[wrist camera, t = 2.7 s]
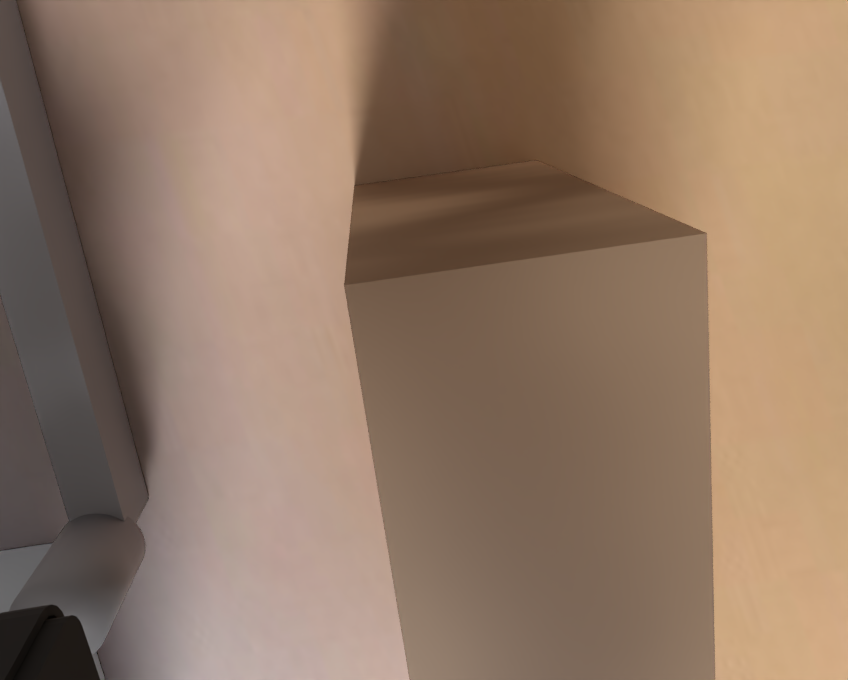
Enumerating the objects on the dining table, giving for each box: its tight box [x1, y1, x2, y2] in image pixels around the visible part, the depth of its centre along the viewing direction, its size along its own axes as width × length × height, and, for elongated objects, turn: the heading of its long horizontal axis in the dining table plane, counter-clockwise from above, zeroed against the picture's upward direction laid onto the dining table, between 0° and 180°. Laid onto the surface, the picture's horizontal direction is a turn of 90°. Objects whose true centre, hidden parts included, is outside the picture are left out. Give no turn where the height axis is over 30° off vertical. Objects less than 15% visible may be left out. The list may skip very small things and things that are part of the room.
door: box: [344, 160, 715, 680], centre depth 13 cm, size 4×10×8 cm, turn 7°
